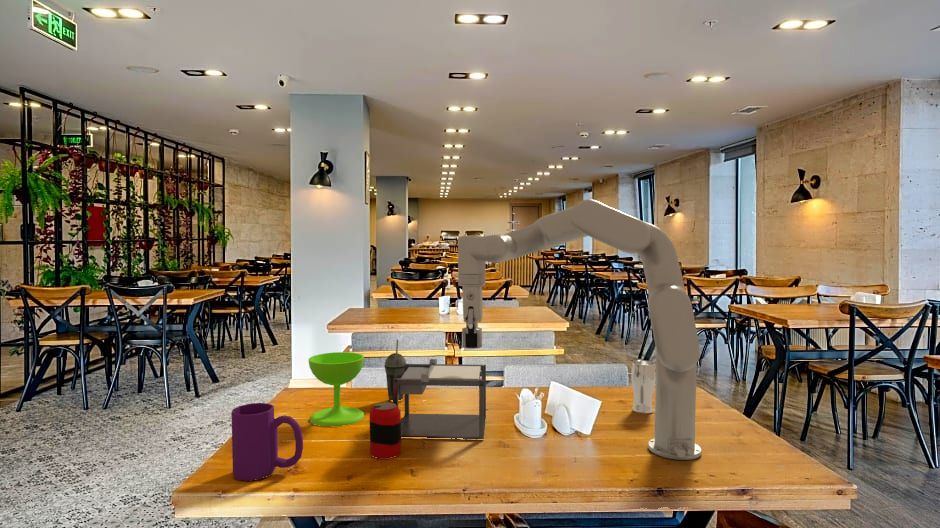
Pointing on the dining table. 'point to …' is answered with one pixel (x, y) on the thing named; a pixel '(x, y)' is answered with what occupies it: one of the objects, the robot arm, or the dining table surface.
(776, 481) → the dining table surface
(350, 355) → the wineglass
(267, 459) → the mug
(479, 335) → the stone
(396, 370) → the beverage cup
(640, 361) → the beer glass
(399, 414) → the soda can
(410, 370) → the trapdoor
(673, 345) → the robot arm
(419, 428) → the frame
